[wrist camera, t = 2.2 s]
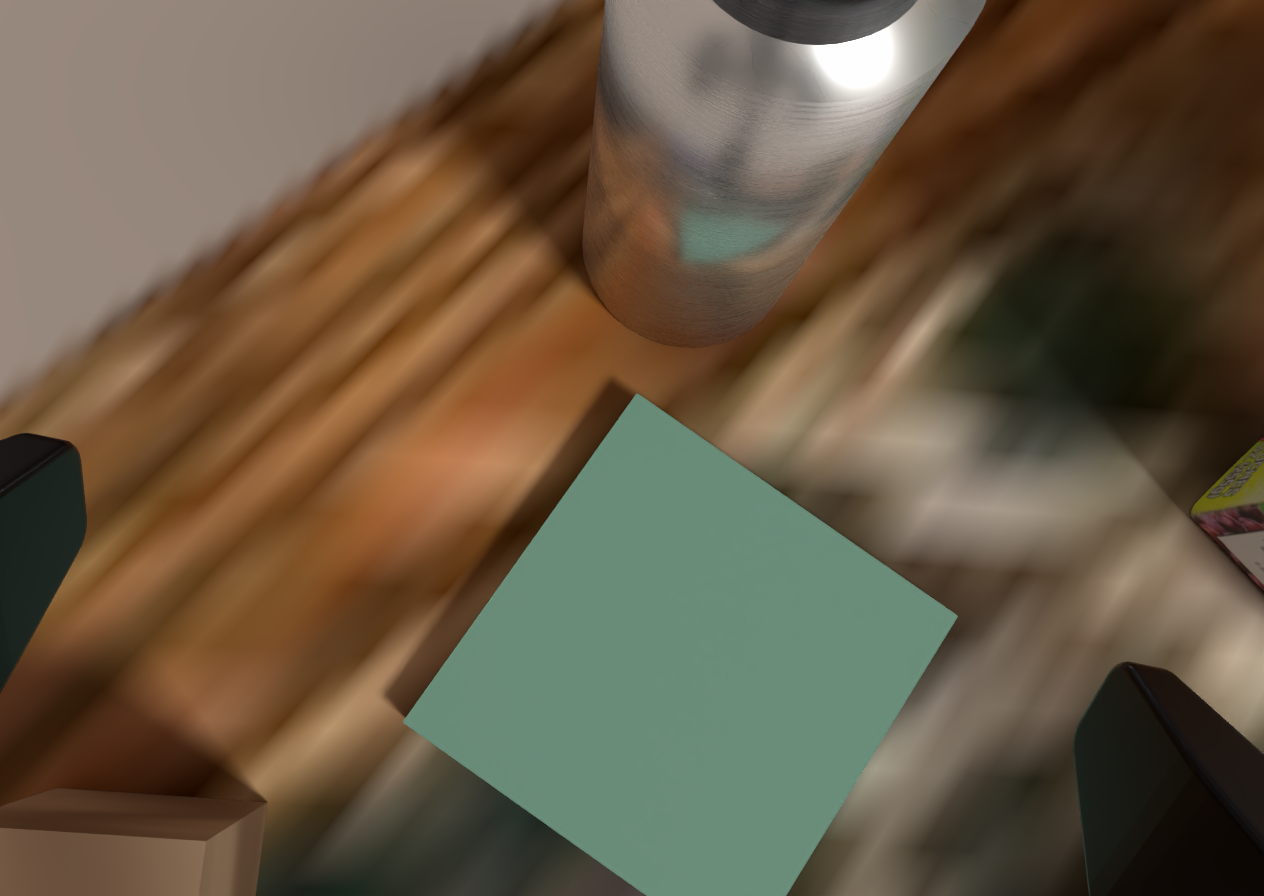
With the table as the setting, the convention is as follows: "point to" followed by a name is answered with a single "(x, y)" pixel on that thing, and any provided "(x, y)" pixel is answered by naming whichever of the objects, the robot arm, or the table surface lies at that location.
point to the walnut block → (129, 845)
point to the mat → (683, 668)
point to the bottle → (741, 145)
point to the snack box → (1238, 512)
